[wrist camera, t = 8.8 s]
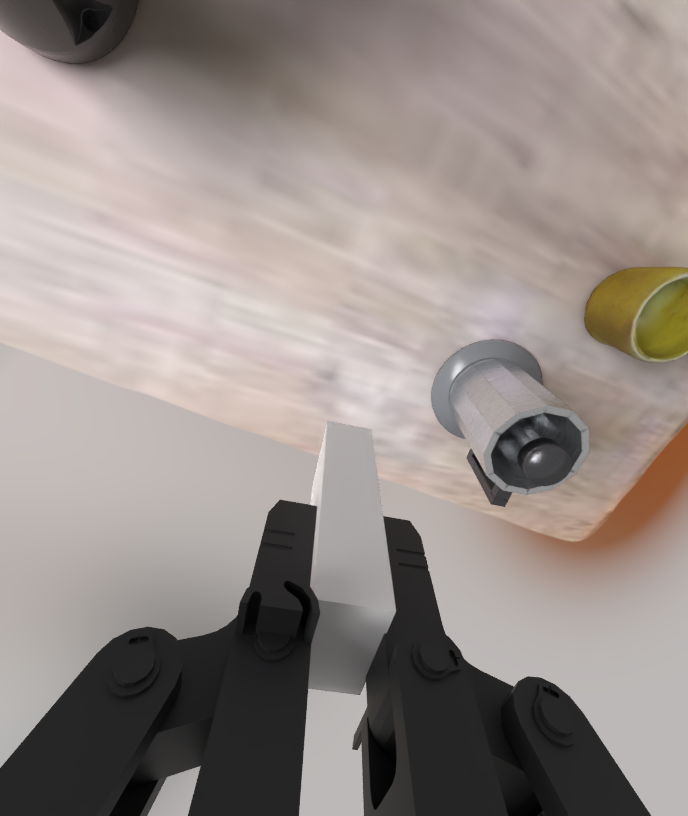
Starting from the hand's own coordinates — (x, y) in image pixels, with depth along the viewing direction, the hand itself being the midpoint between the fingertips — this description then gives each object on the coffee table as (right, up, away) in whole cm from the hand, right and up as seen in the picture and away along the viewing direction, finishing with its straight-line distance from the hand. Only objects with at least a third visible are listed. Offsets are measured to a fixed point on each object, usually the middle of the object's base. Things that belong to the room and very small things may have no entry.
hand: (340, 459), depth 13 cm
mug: (+34, +14, +32) cm, 49 cm away
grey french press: (+18, +2, +36) cm, 41 cm away
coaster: (+19, +4, +36) cm, 41 cm away
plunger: (+19, +2, +33) cm, 38 cm away
